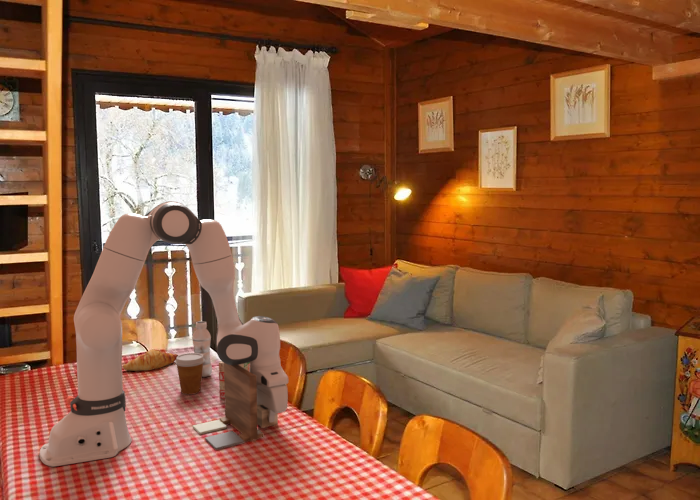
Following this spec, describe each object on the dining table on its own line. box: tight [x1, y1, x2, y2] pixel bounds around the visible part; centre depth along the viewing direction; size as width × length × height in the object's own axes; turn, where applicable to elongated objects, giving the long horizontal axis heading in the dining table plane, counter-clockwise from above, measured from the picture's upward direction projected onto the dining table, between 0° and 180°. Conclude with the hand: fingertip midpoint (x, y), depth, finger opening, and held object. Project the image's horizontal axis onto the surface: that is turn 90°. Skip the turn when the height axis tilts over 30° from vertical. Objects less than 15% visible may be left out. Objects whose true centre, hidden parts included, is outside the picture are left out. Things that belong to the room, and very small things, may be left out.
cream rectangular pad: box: [192, 419, 228, 435], centre depth 178 cm, size 8×6×1 cm
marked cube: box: [257, 404, 279, 429], centre depth 181 cm, size 5×5×5 cm
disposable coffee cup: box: [174, 352, 204, 395], centre depth 208 cm, size 10×10×12 cm
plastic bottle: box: [191, 320, 213, 378], centre depth 223 cm, size 6×7×20 cm
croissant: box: [122, 349, 179, 372], centre depth 236 cm, size 21×10×8 cm
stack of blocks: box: [218, 360, 250, 400], centre depth 211 cm, size 21×6×12 cm, turn 165°
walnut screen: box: [219, 363, 264, 443], centre depth 176 cm, size 6×18×18 cm, turn 34°
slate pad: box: [204, 430, 245, 451], centre depth 169 cm, size 8×8×1 cm
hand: (266, 417), depth 181 cm, fingers closed on marked cube, 5 cm apart
